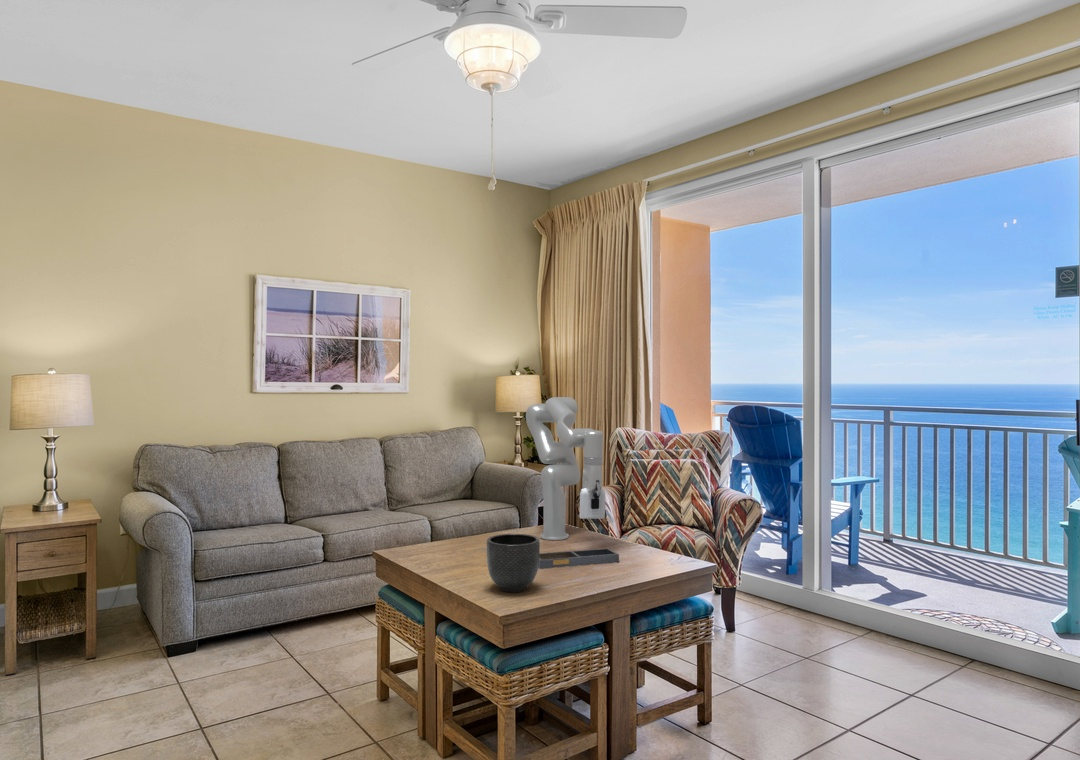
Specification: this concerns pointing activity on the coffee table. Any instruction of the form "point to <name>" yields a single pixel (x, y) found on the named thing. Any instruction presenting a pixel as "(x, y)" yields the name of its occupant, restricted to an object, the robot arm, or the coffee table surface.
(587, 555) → the divided tray
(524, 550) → the planter
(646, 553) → the coffee table surface
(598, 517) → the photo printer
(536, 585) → the coffee table surface
